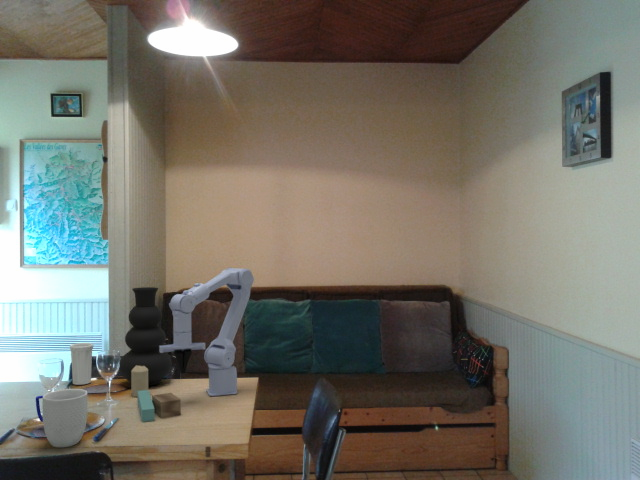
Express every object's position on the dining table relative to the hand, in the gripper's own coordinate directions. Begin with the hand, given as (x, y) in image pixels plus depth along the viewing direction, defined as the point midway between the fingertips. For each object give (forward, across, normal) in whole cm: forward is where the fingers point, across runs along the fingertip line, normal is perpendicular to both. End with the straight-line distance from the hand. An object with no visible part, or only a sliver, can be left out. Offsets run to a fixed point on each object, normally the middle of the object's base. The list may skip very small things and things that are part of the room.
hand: (182, 372), depth 192 cm
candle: (+10, +12, -15) cm, 22 cm away
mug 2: (+10, +34, +24) cm, 43 cm away
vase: (+10, +9, -30) cm, 33 cm away
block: (+10, +6, +9) cm, 15 cm away
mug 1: (+10, +37, +11) cm, 40 cm away
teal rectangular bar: (+10, +12, +4) cm, 16 cm away
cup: (+10, +31, -38) cm, 50 cm away
